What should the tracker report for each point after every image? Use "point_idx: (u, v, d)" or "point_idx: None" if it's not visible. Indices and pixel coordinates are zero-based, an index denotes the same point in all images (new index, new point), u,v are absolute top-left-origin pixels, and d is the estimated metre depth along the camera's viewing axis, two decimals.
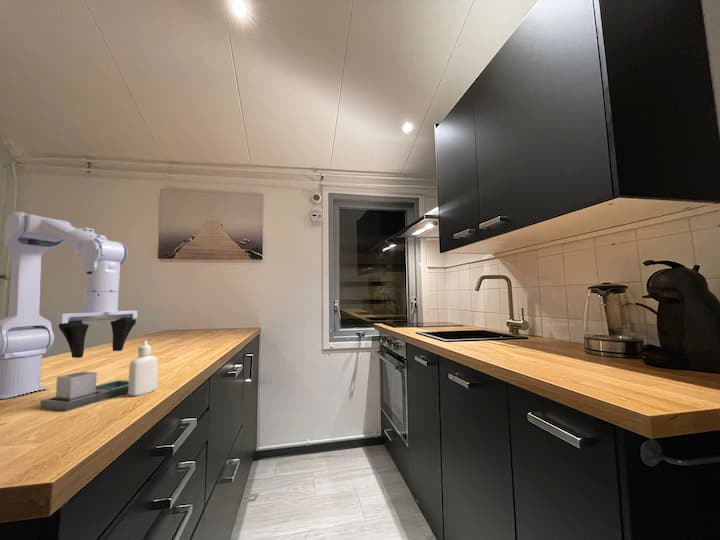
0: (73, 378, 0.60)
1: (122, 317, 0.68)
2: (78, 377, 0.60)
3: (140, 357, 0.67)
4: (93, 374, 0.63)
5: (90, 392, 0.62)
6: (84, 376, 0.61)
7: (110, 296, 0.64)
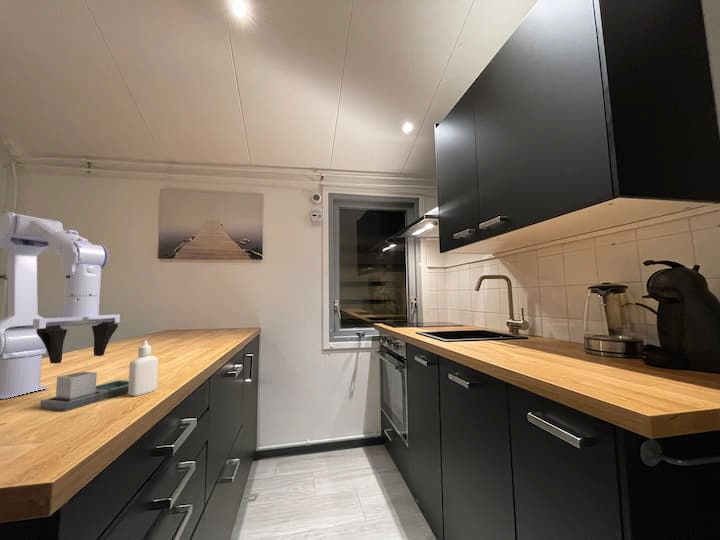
0: (73, 378, 0.60)
1: (103, 321, 0.67)
2: (78, 377, 0.60)
3: (140, 357, 0.67)
4: (93, 374, 0.63)
5: (90, 392, 0.62)
6: (84, 376, 0.61)
7: (90, 300, 0.63)
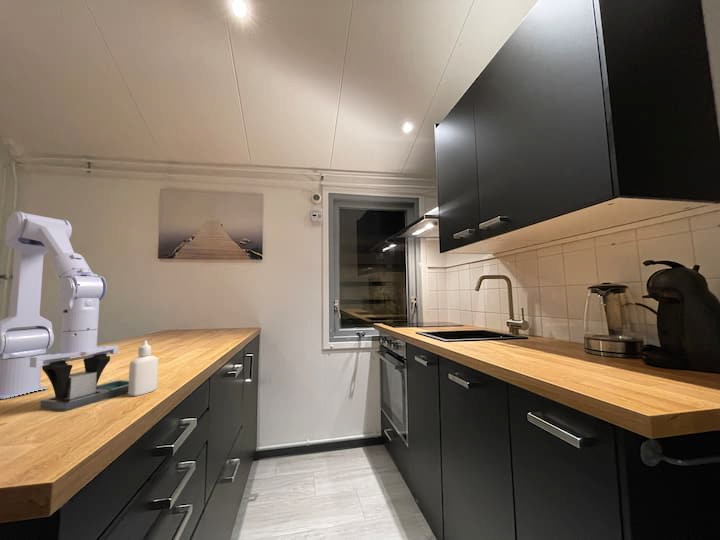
0: (73, 378, 0.60)
1: (102, 354, 0.66)
2: (78, 377, 0.60)
3: (140, 357, 0.67)
4: (93, 374, 0.63)
5: (90, 392, 0.62)
6: (84, 376, 0.61)
7: (88, 334, 0.62)
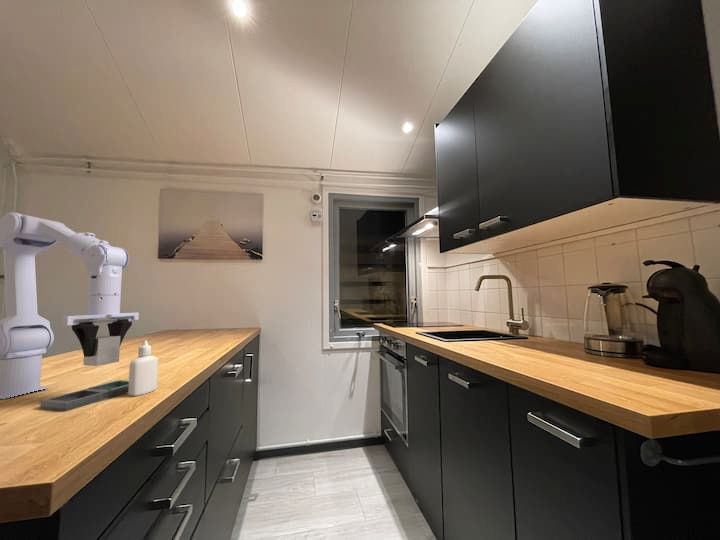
0: (100, 339, 0.65)
1: (124, 319, 0.71)
2: (104, 338, 0.65)
3: (140, 357, 0.67)
4: (117, 337, 0.68)
5: (115, 353, 0.67)
6: (109, 338, 0.66)
7: (112, 299, 0.67)
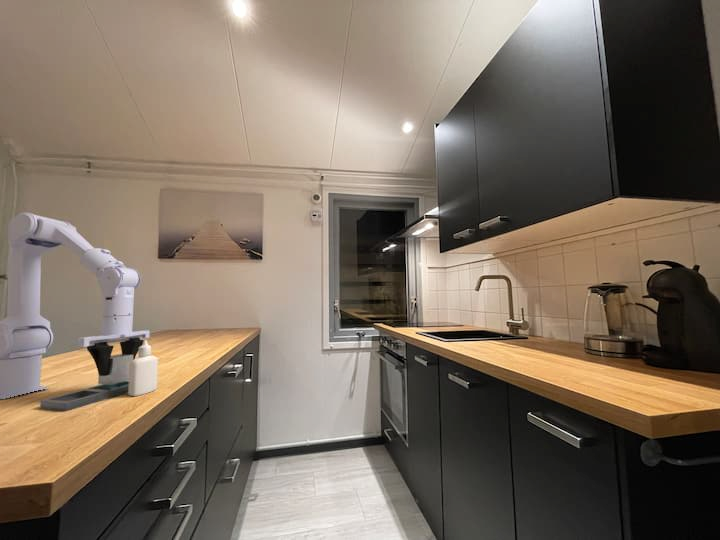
0: (114, 358, 0.67)
1: (136, 337, 0.74)
2: (118, 358, 0.68)
3: (140, 357, 0.67)
4: (130, 356, 0.70)
5: (128, 372, 0.70)
6: (123, 357, 0.69)
7: (126, 319, 0.70)
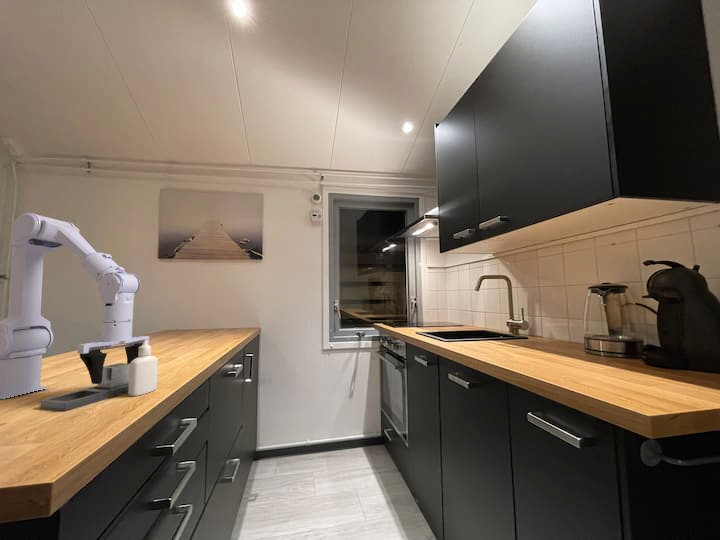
0: (113, 368, 0.67)
1: (135, 343, 0.74)
2: (117, 367, 0.68)
3: (140, 357, 0.67)
4: None
5: (127, 381, 0.69)
6: (122, 366, 0.69)
7: (125, 325, 0.69)
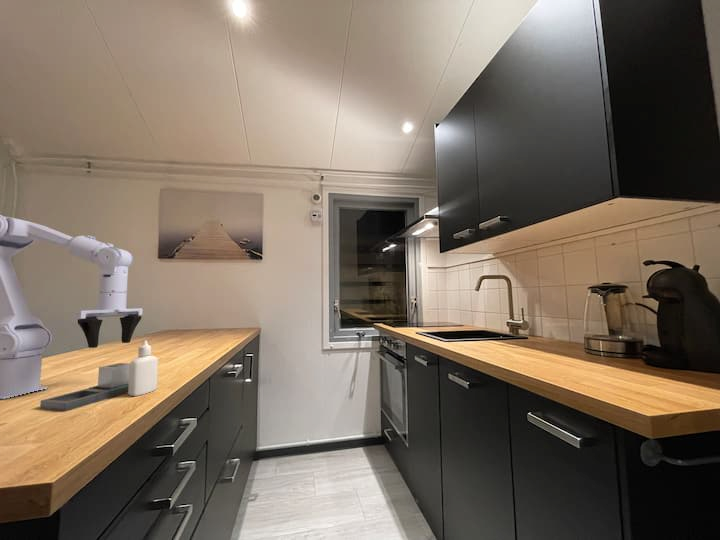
0: (113, 368, 0.67)
1: (129, 314, 0.79)
2: (117, 367, 0.68)
3: (140, 357, 0.67)
4: None
5: (127, 381, 0.69)
6: (122, 366, 0.69)
7: (120, 296, 0.75)
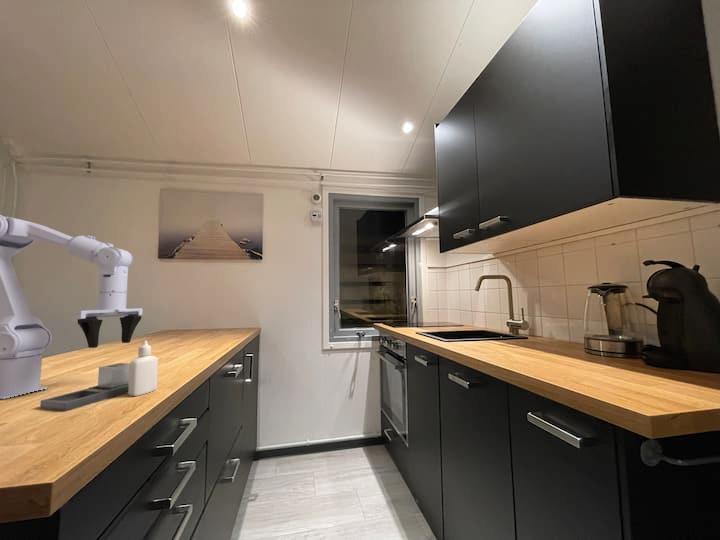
0: (113, 368, 0.67)
1: (129, 314, 0.79)
2: (117, 367, 0.68)
3: (140, 357, 0.67)
4: None
5: (127, 381, 0.69)
6: (122, 366, 0.69)
7: (120, 296, 0.75)
